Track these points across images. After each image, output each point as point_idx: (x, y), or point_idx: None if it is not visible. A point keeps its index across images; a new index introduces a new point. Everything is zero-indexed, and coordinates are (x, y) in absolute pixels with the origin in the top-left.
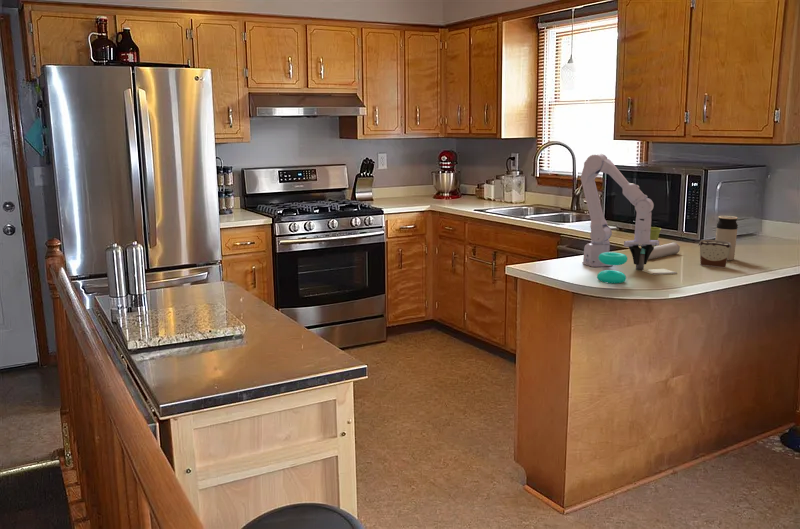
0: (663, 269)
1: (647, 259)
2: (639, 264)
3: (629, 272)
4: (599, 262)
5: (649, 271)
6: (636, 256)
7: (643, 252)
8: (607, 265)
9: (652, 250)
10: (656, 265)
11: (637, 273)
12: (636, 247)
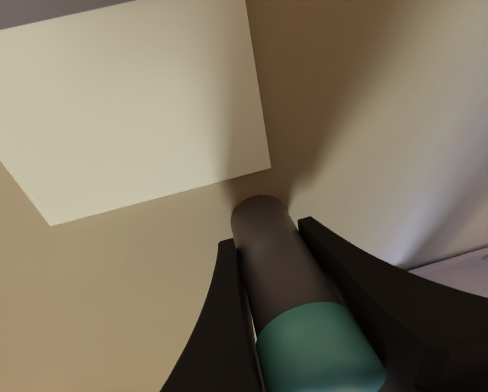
0: (62, 196)
1: (219, 269)
2: (288, 221)
3: (399, 100)
4: (468, 280)
5: (234, 96)
6: (375, 259)
7: (309, 323)
8: (413, 272)
9: (168, 384)
10: (93, 337)
11: (362, 53)
12: (479, 383)
